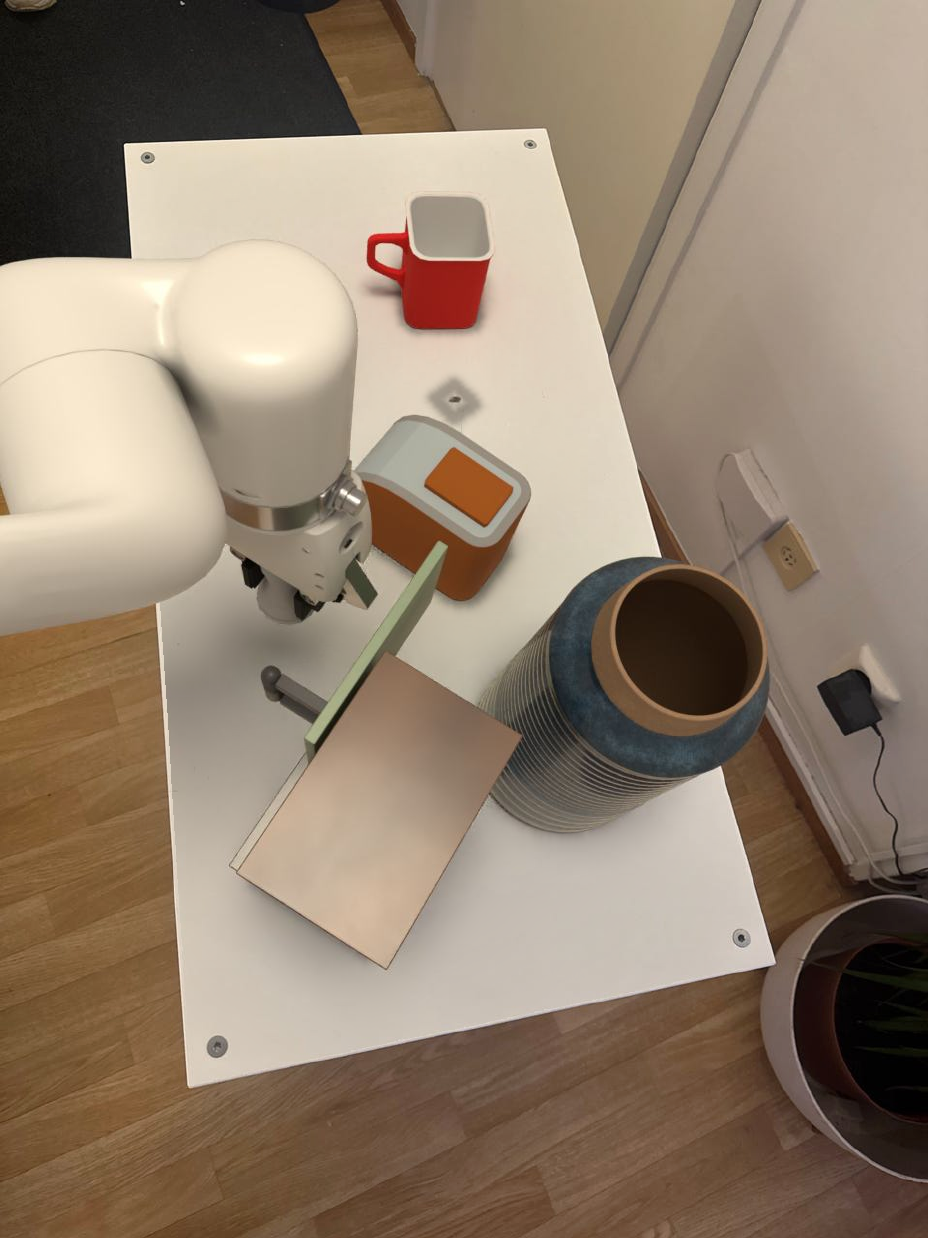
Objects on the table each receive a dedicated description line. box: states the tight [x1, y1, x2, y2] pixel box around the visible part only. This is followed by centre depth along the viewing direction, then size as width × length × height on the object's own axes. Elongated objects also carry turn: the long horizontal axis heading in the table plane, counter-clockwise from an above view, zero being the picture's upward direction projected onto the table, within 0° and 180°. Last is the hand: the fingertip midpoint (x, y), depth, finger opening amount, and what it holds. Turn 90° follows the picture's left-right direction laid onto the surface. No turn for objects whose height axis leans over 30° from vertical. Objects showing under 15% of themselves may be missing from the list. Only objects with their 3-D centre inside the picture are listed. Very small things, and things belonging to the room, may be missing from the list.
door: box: [260, 541, 448, 764], centre depth 54 cm, size 5×14×10 cm, turn 149°
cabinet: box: [228, 651, 522, 971], centre depth 61 cm, size 11×14×31 cm
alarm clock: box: [353, 414, 532, 601], centre depth 79 cm, size 15×8×14 cm, turn 56°
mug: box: [366, 190, 496, 330], centre depth 89 cm, size 12×8×11 cm
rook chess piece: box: [256, 566, 315, 626], centre depth 61 cm, size 4×4×8 cm
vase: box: [477, 556, 771, 833], centre depth 66 cm, size 16×16×32 cm
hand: (286, 585), depth 62 cm, fingers closed on rook chess piece, 3 cm apart
